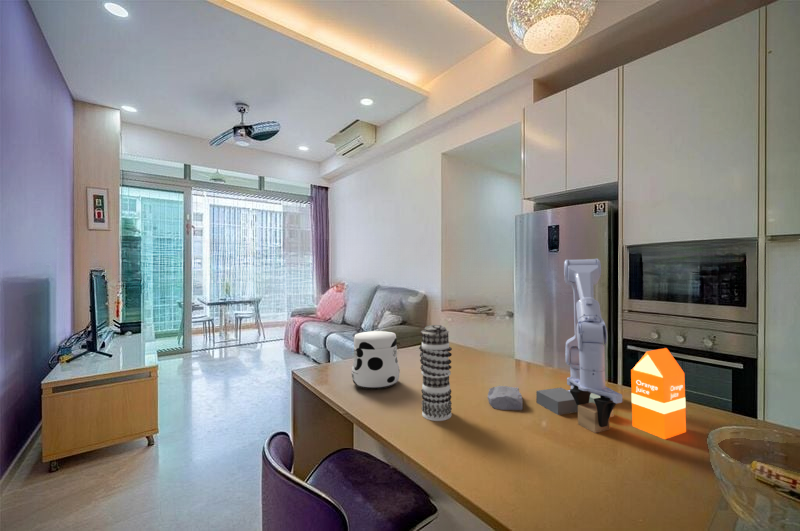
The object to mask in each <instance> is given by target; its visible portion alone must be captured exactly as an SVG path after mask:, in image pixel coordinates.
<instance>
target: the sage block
mask: <svg viewBox="0 0 800 531" xmlns="http://www.w3.org/2000/svg"><path fill="white" fill-rule="evenodd" d="M595 398H600V396H599V395H596V394H593V393H591V394H590V398H589V403H591V402H592V403H594V404H595V402H594V399H595ZM614 412H615V411H614V409H613V410H612V412H611V414H610V417H609V418H613V417H614Z"/></svg>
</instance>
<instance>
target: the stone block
mask: <svg viewBox="0 0 800 531" xmlns="http://www.w3.org/2000/svg"><path fill="white" fill-rule="evenodd" d="M487 400H488V403H489V405H490V406H491V407H492V408H493V409H495V410H502V411H503V410H507V411H508V410H509V411H510V410H511V411H523V396H522V394H521V392H520V389H519V387H518V386H516V387H513V386H506V385H498V386H493V387H490V388H489V389H488V393H487Z"/></svg>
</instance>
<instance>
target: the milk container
mask: <svg viewBox="0 0 800 531" xmlns="http://www.w3.org/2000/svg"><path fill="white" fill-rule="evenodd" d="M397 354H398V346H397V335H396V333H395V332H391V331H385V330H372V331H363V332H358V333H356V334H354V338H353V362H352V365H351V366H352V367H351V378H352V382H353V384H354V385H355V386H357V387H358V388H360V389H361V388H362V389H365V390H380V389H381V390H382V389H386V388H390V387H392V386H395V385H396V384H397V383H398V381H399V379H400V373H401V372H400V370H401V369H400V364H399V360H398V357H397V356H398V355H397Z"/></svg>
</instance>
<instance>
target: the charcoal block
mask: <svg viewBox="0 0 800 531" xmlns="http://www.w3.org/2000/svg"><path fill="white" fill-rule="evenodd" d="M535 393H536V404H538V405H539V406H542V407H543V408H545V409H547V411H550V412H552V413H554V414H555V415H557V416H559V415H561V416H562V415H567V414H572V413H578V407H577V404H576V402H575V400H574V398H573V396H572V394H571V393H570V392H569V391H567V389H565V388H563V387H556V388H548V389H540V390H536V392H535Z"/></svg>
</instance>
